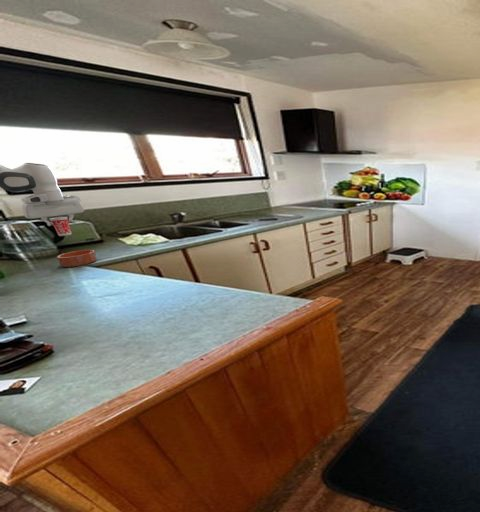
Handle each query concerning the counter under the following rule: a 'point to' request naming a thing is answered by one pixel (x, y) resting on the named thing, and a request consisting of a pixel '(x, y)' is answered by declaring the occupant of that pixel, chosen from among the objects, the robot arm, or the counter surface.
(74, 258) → the bowl
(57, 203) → the robot arm
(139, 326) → the counter surface
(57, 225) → the beverage cup
